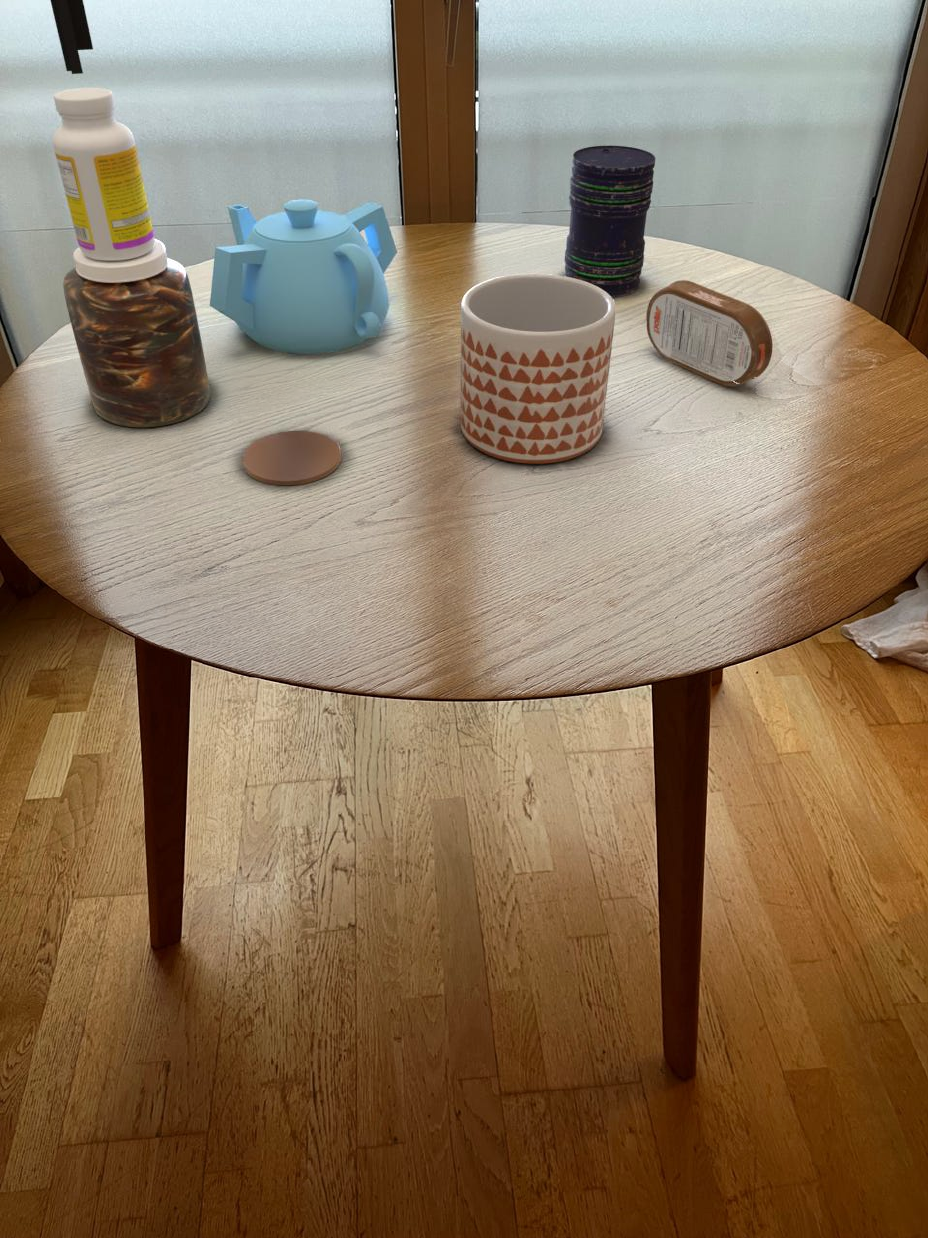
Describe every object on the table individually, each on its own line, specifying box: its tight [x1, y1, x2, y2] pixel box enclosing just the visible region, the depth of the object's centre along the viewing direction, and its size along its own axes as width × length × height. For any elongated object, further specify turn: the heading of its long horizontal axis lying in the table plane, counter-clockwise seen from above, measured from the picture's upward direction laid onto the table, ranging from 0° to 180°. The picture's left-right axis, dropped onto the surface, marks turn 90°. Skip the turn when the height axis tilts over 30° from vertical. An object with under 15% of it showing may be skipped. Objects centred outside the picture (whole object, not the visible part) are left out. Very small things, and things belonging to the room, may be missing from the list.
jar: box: [62, 238, 211, 428], centre depth 92 cm, size 12×12×15 cm
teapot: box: [209, 198, 398, 355], centre depth 106 cm, size 19×19×14 cm
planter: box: [460, 273, 617, 465], centre depth 89 cm, size 14×14×13 cm
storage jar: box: [563, 145, 656, 298], centre depth 117 cm, size 10×10×15 cm
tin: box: [645, 279, 774, 387], centre depth 100 cm, size 15×3×8 cm, turn 40°
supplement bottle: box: [52, 87, 156, 261], centre depth 83 cm, size 7×7×13 cm
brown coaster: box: [241, 430, 342, 486], centre depth 88 cm, size 9×9×1 cm
